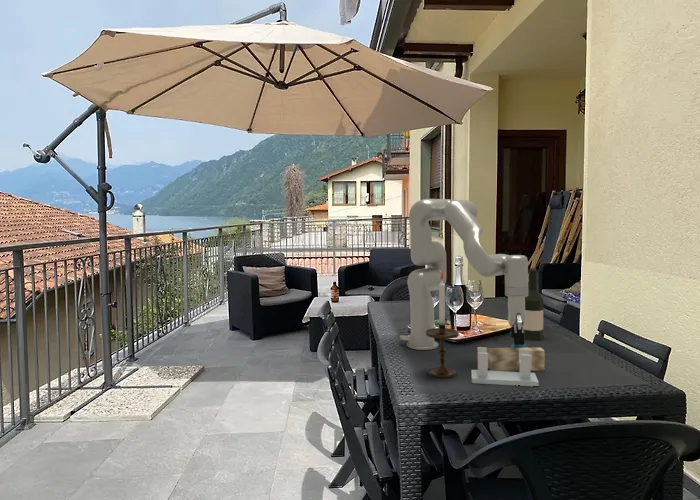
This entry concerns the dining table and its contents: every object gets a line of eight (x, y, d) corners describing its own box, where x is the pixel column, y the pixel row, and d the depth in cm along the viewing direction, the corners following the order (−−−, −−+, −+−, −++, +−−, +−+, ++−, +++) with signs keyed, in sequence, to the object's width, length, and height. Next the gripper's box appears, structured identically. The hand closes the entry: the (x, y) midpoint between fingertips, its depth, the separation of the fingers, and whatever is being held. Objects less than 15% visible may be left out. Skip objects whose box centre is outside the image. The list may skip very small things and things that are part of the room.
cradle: (471, 383, 157) (471, 353, 156) (471, 374, 165) (471, 346, 165) (538, 386, 152) (538, 356, 152) (534, 377, 161) (534, 348, 160)
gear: (533, 350, 186) (513, 331, 188) (521, 361, 187) (501, 341, 189) (530, 347, 197) (511, 328, 199) (519, 357, 197) (500, 338, 200)
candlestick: (436, 366, 174) (435, 268, 171) (464, 372, 167) (464, 269, 165) (420, 375, 166) (419, 271, 163) (449, 381, 159) (448, 273, 156)
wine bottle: (521, 339, 208) (522, 269, 206) (522, 335, 216) (523, 267, 214) (542, 341, 205) (543, 269, 203) (543, 336, 213) (543, 267, 211)
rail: (490, 371, 169) (490, 351, 168) (488, 367, 173) (488, 347, 172) (544, 370, 168) (544, 350, 167) (540, 367, 172) (540, 347, 171)
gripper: (503, 288, 178) (504, 335, 178) (507, 295, 161) (508, 347, 162) (525, 287, 176) (526, 335, 177) (531, 295, 159) (532, 347, 160)
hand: (517, 341), depth 169 cm, fingers open, 9 cm apart
